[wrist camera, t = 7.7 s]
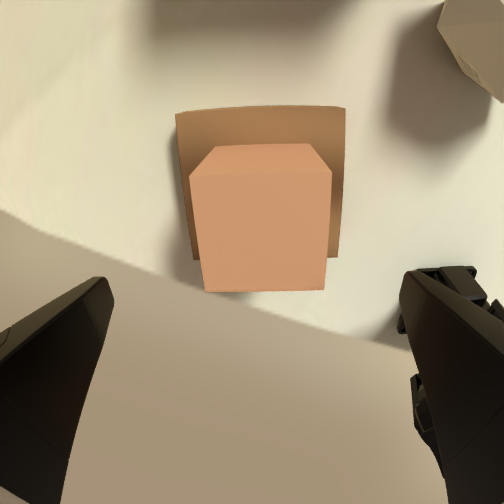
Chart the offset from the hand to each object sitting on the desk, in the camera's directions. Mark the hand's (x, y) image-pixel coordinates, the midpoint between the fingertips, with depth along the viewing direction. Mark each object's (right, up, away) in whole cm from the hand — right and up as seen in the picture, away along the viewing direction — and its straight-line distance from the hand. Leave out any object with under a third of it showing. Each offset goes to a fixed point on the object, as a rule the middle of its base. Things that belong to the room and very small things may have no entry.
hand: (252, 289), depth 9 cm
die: (+15, +16, +4) cm, 22 cm away
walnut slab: (+1, +6, +10) cm, 11 cm away
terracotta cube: (+1, +5, +8) cm, 9 cm away
